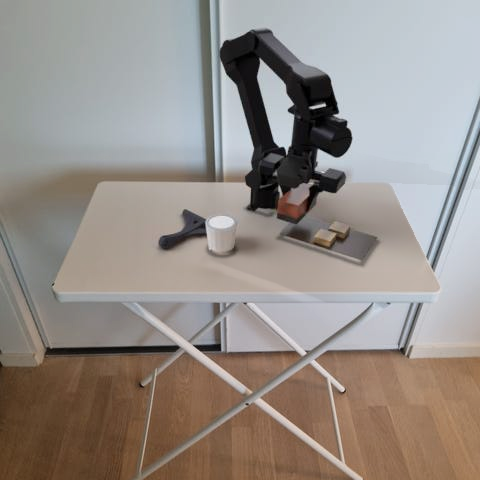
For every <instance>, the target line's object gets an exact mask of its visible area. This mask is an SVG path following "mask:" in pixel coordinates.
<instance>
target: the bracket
mask: <svg viewBox="0 0 480 480" xmlns="http://www.w3.org/2000/svg"><path fill="white" fill-rule="evenodd" d="M181 213H182V217H183V219H184V221H185V225H184V227H183V228H182V229H181V230H180V231H177V232H174V233H170V234H165V235H161V236H160V238H159V239H158V242H157V245H158V246H159V247H160V248H162V249H164V250H165V249H169V248H170V247H172V246H174V245H176V244H178V243H179V242H182V241H183V240H185V239H187V238H189V237H191V236H194V235H207V231H206V224H205V221H206V219H207V218H204V217H202V216H201V215H198V214H197V213H195V212H192V211H190V210H189V209H187V208H184V209H183V210H182V212H181Z"/></svg>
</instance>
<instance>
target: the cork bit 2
mask: <svg viewBox="0 0 480 480" xmlns="http://www.w3.org/2000/svg"><path fill="white" fill-rule="evenodd" d="M351 227H352V225H350V224H347V223H343V222H340V221H336V220H334V221H333V223H332V225H331V226H330V227H329V229H328V231H331V232H334V233H337V237H340V238H343V239H344V238H345V236H346V235H347V234H348V232H349V231H350V229H351Z"/></svg>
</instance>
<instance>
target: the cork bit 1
mask: <svg viewBox="0 0 480 480" xmlns="http://www.w3.org/2000/svg"><path fill="white" fill-rule="evenodd" d="M336 236H337V233H334V232H331V231H327V230H324V229H320V230H319V231H318V232H317V233H316V235H315V236H314V239H313V242H315V243H318V244H321V245H324V246H328V247H330V246H331V244H332V243H333V242H334V241H335V239H336Z"/></svg>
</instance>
